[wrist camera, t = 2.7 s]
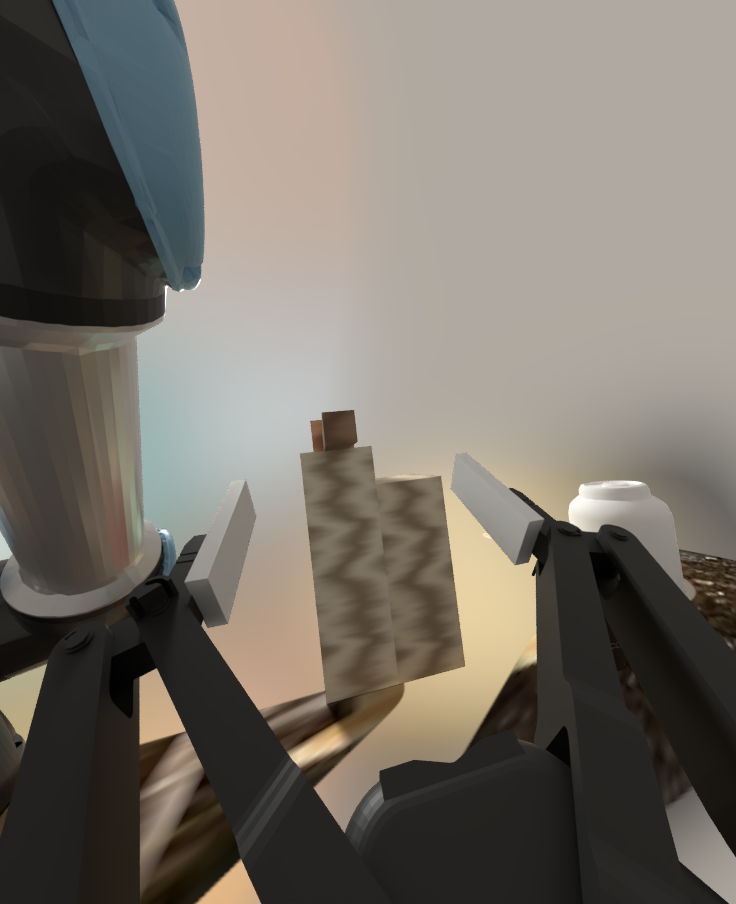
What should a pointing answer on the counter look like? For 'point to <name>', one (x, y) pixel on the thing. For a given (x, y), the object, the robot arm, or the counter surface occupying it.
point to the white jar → (630, 519)
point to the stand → (379, 574)
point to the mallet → (334, 431)
